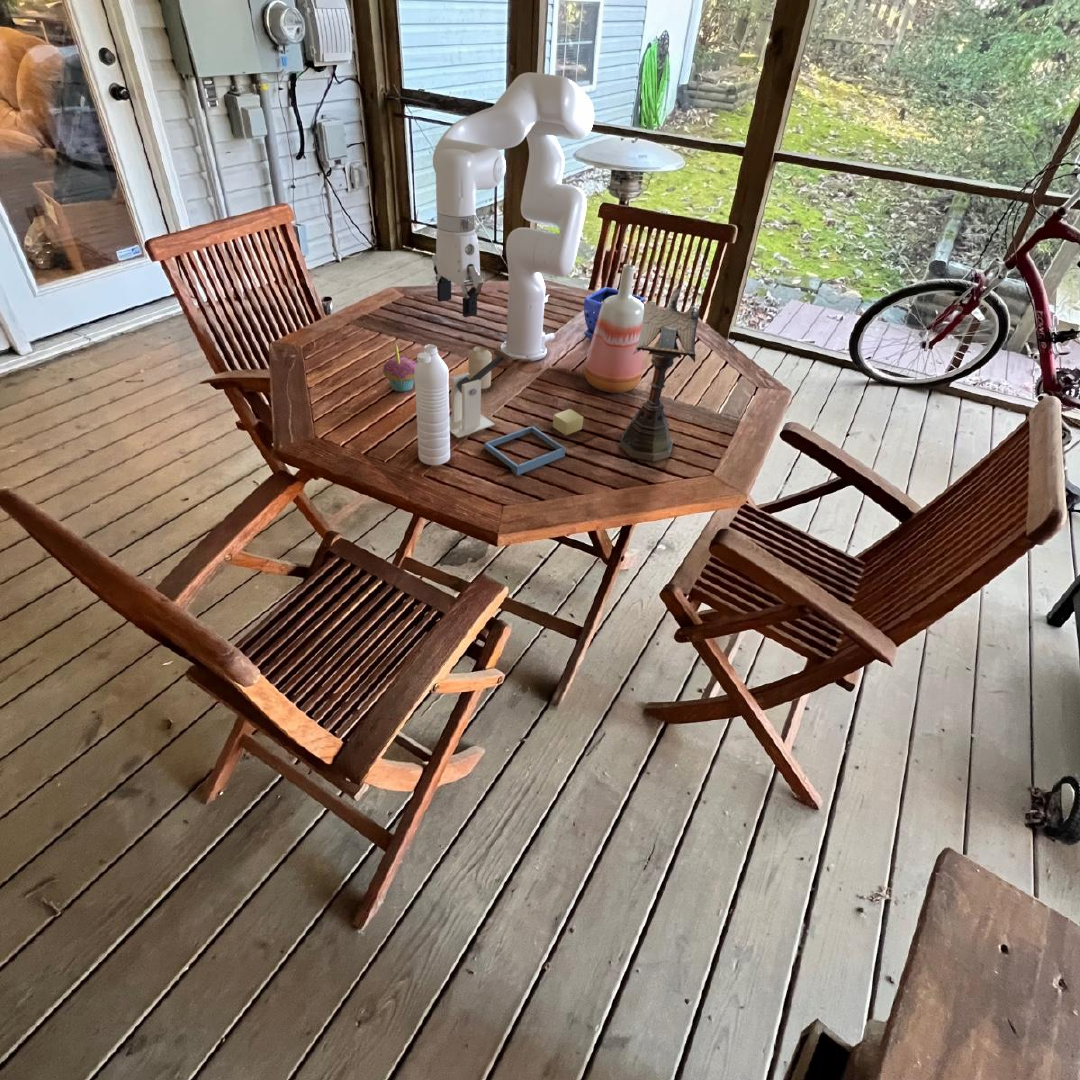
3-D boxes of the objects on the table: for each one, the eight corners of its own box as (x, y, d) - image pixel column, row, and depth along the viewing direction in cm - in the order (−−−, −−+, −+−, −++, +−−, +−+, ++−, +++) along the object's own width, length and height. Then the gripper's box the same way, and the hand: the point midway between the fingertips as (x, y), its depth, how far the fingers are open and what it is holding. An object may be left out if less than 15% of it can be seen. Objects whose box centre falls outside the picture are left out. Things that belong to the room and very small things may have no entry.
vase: (650, 386, 176) (672, 268, 157) (615, 404, 167) (634, 281, 148) (606, 366, 183) (622, 251, 164) (571, 382, 174) (583, 263, 155)
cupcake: (412, 397, 163) (410, 350, 155) (378, 392, 164) (374, 344, 156) (424, 382, 169) (422, 335, 162) (391, 376, 170) (388, 330, 163)
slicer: (473, 413, 159) (474, 366, 151) (494, 428, 154) (496, 380, 147) (437, 425, 154) (435, 377, 146) (457, 441, 149) (457, 392, 142)
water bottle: (424, 449, 146) (419, 336, 130) (453, 454, 145) (452, 341, 129) (411, 471, 139) (404, 355, 123) (442, 476, 138) (439, 360, 123)
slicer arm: (500, 353, 152) (497, 345, 151) (514, 362, 150) (511, 353, 148) (456, 390, 150) (452, 382, 148) (469, 399, 147) (465, 391, 145)
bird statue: (675, 478, 144) (713, 315, 121) (613, 467, 145) (640, 304, 123) (681, 439, 156) (716, 285, 134) (624, 429, 158) (650, 275, 136)
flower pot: (640, 337, 199) (646, 297, 192) (619, 352, 190) (625, 310, 183) (600, 325, 204) (605, 285, 197) (578, 339, 195) (582, 298, 188)
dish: (531, 433, 154) (532, 425, 152) (564, 456, 147) (565, 447, 146) (484, 451, 147) (484, 442, 145) (516, 475, 140) (517, 467, 139)
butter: (568, 423, 158) (570, 408, 156) (581, 432, 156) (583, 416, 153) (552, 430, 156) (553, 414, 153) (565, 438, 153) (566, 423, 150)
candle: (494, 385, 170) (495, 347, 164) (484, 394, 167) (484, 355, 160) (475, 379, 172) (475, 341, 166) (464, 388, 168) (464, 349, 162)
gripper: (497, 231, 131) (495, 318, 142) (448, 208, 141) (449, 292, 152) (464, 236, 127) (464, 325, 138) (416, 212, 137) (420, 297, 148)
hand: (456, 307), depth 145 cm, fingers open, 9 cm apart
